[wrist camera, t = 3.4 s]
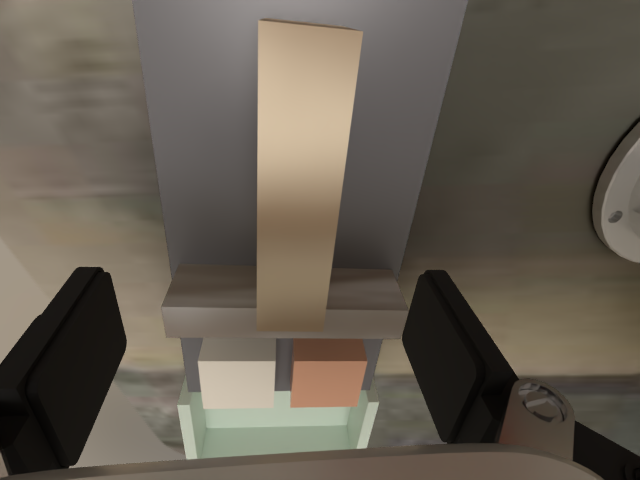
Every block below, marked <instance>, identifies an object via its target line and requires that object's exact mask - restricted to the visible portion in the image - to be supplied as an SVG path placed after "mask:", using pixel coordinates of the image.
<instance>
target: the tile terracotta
mask: <svg viewBox="0 0 640 480" xmlns="http://www.w3.org/2000/svg"><path fill="white" fill-rule="evenodd" d="M366 366H367V357H366V353H365V348H364V344H363V340H362V339H328V338H293V349H292V362H291V375H290V408H301V407H357V404H358V400H359V396H360V391H361V387H362V383H363V379H364V374H365V370H366Z"/></svg>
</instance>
